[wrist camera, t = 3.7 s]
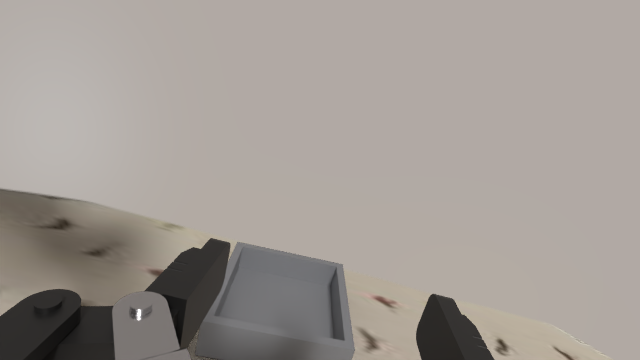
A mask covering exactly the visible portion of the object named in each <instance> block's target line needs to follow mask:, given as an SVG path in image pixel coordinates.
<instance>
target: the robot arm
mask: <svg viewBox="0 0 640 360" xmlns="http://www.w3.org/2000/svg"><path fill="white" fill-rule="evenodd" d="M229 252H230V243H229V242H225V241H221V240H217V239H213V238H211V239H210V240H209V241H208V242H207V243H206V244H205V245H204V246H203V248H202V249H198V248H194V247H193V248H191V249H189V250H186V251H184V252H182V253H181V254H180V255H179V256H178V257H177V258H176V259H175V260H174V262H172V263H171V264H170V265H169V266H168V268H167V269H165V270H164V271H163V272H162V273H161V275H160V276H159V277H158V278H157V279H156V280H155V281H154V282H153V283H152V284H151V285H150V286H149V287H148V288H147V289H146V290H145V291H144V292H136V293H132V294H129V295H127V296H125V297H123V298H121V299H120V300H119V301H118V302H117V303H116V304H115V305H114V306H81V298H80V296H79V295H78V294H77V293H75V292H73V291H70V290H65V289H53V290H47V291H42V292H39V293H36V294H33V295H31V296H29V297H27V298H25V299H23V300H22V301H20V302H19V303H18V304H16V305H15V306H14V307H12V308H11V309H9V310H8V311H7V312H5V313H4V314H3V315H1V316H0V360H191V358H190V354H189V352H188V350H187V347H188V345H189V344H190V342H191V340H192V339H193V337H194V335H195V333H196V332H197V330H198V328H199V327H200V325H201V323H202V322H203V320H204V318H205V317H206V315H207V313H208V312H209V310H210V308H211V306H212V305H213V303H214V301H215V300H216V298H217V296H218V295H219V293H220V291H221V288H222V286H223V283H224V279H225V274H226V268H227V263H228V257H229ZM416 341H417V345H418V349H419V352H420V356H421V359H422V360H494V358H493V357H492V355H491V353H490V351H489V350H488V349H487V346H486V344H485V342H484V341H483V340H482V337H481V335H480V333H479V332H478V330H477V328H476V326H475V325H474V324H473V323H472V322H471V321H470V320H469V319H468V318H467V317H466V316H465V315H462V314H461V313H460V311H459V309H458V307H457V305H456V303H455V301H454V300H453V299H452V298H448V297H444V296H440V295H436V294H432V295H431V296H430V297H429V299H428V302H427V304H426V307H425V309H424V312H423V314H422V317H421V319H420V322H419V324H418V327H417V332H416Z"/></svg>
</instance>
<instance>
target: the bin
mask: <svg viewBox="0 0 640 360" xmlns="http://www.w3.org/2000/svg"><path fill="white" fill-rule="evenodd" d="M354 351H355V348H354V341H353V334H352V327H351V320H350V313H349V306H348V299H347V292H346V285H345V278H344V271H343V265H342V264H338V263H334V262H329V261H325V260H320V259H315V258H311V257H306V256H301V255H296V254H292V253H287V252H283V251H278V250H273V249H269V248H264V247H259V246H255V245H250V244H245V243H241V242H237V244H236V246H235V249H234V251H233V253H232V255H231V257H230V259H229V261H228V264H227V268H226V274H225V279H224V283H223V286H222V288H221V291H220V293H219V295H218V296H217V298H216V300H215V301H214V303H213V305H212V306H211V308H210V310H209V312H208V313H207V315H206V317H205V318H204V320H203V322H202V323H201V325H200V328H199V334H198V340H197V346H196V352H195V355H197V356H203V357H208V358H214V359H219V360H351V359H352V357H353V354H354Z"/></svg>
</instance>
